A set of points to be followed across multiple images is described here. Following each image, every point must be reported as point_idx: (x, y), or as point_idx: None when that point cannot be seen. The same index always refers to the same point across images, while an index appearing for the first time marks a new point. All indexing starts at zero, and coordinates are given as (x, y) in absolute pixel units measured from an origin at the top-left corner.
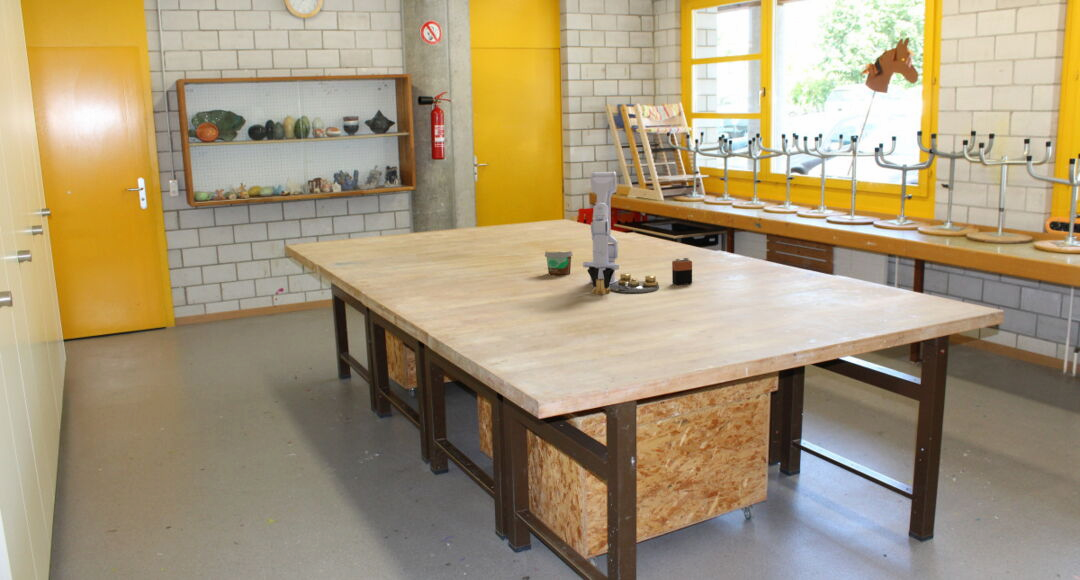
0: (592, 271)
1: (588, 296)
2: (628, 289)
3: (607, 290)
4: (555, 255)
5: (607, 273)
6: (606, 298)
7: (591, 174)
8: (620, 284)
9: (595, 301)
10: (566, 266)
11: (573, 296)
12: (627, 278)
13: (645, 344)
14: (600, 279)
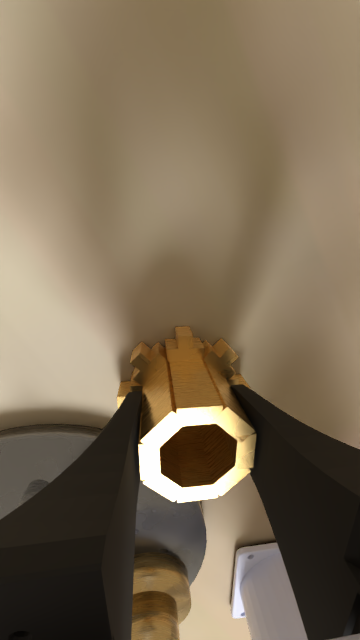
0: (346, 493)
1: (202, 227)
2: (14, 479)
3: (128, 391)
4: None
5: (9, 518)
6: (20, 216)
7: None
8: (156, 552)
9: (22, 32)
10: None
11: (313, 177)
12: None
13: None
14: (221, 473)
